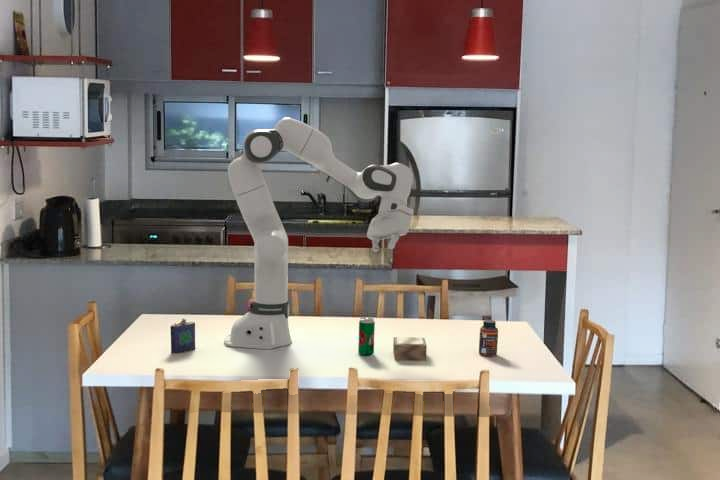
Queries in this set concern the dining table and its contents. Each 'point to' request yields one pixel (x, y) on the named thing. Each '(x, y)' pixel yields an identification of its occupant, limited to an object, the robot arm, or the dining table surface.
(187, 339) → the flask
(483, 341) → the supplement bottle
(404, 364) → the dining table surface
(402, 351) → the base block
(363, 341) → the soda can
